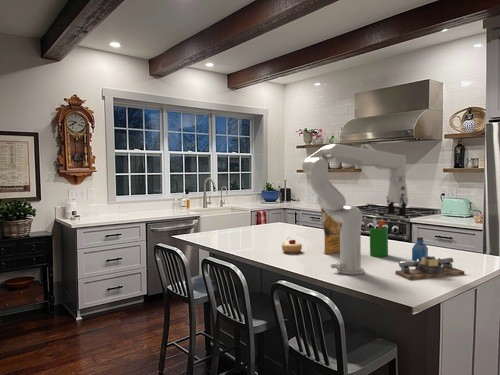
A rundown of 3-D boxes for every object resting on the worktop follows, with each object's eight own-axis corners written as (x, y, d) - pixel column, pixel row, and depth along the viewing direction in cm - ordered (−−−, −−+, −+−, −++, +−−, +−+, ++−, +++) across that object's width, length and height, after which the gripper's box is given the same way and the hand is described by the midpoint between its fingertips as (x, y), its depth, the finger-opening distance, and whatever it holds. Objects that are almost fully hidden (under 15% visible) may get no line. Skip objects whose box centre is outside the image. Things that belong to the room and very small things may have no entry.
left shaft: (416, 273, 179) (416, 258, 179) (421, 275, 175) (421, 260, 175) (398, 274, 179) (398, 259, 178) (402, 276, 175) (402, 261, 174)
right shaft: (441, 274, 178) (441, 258, 177) (433, 271, 181) (433, 257, 181) (454, 271, 181) (454, 256, 181) (447, 269, 185) (447, 255, 185)
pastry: (300, 255, 224) (301, 240, 223) (280, 254, 226) (280, 239, 225) (302, 250, 235) (302, 236, 234) (283, 249, 238) (283, 235, 237)
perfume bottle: (415, 258, 209) (415, 236, 209) (427, 259, 206) (427, 237, 205) (412, 260, 205) (412, 238, 204) (424, 262, 201) (424, 239, 200)
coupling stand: (408, 279, 169) (408, 270, 169) (395, 274, 179) (395, 265, 179) (464, 274, 176) (464, 265, 176) (448, 269, 186) (448, 260, 186)
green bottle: (376, 252, 224) (376, 218, 223) (391, 255, 218) (391, 219, 217) (367, 255, 217) (367, 220, 216) (382, 258, 211) (382, 221, 210)
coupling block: (438, 272, 176) (438, 257, 175) (428, 272, 174) (428, 258, 174) (430, 269, 180) (430, 255, 180) (421, 270, 179) (421, 256, 179)
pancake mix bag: (317, 253, 225) (316, 205, 224) (336, 248, 238) (336, 203, 237) (326, 255, 220) (326, 206, 219) (346, 250, 233) (345, 204, 232)
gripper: (414, 180, 181) (413, 216, 182) (394, 179, 198) (393, 212, 199) (400, 180, 180) (399, 216, 181) (381, 179, 197) (380, 212, 198)
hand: (396, 214), depth 190 cm, fingers open, 9 cm apart
